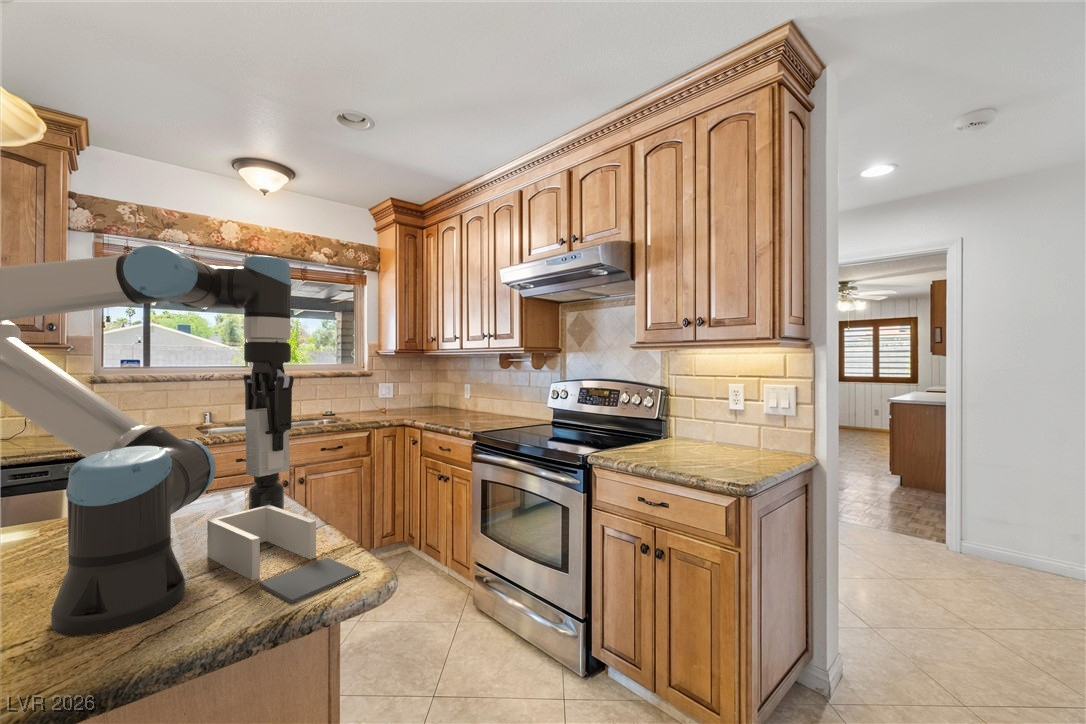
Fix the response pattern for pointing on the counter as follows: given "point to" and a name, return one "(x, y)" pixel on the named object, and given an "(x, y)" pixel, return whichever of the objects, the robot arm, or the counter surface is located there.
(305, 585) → the mat
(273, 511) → the white u-shaped frame
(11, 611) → the counter surface
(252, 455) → the skincare box
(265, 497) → the supplement bottle
